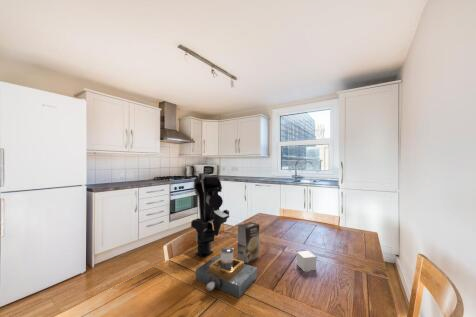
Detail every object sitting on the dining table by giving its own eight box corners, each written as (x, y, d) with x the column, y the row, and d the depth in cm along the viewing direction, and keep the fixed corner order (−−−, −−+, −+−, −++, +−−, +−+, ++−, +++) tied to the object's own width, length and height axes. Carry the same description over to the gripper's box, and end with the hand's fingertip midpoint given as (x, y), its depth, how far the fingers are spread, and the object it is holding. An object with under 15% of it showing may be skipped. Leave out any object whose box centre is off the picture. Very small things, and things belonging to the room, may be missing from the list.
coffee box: (246, 263, 91) (247, 228, 91) (237, 258, 96) (237, 225, 96) (259, 257, 97) (259, 224, 98) (249, 252, 102) (250, 221, 102)
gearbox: (217, 264, 90) (217, 250, 90) (257, 278, 80) (257, 262, 80) (188, 285, 75) (188, 268, 75) (232, 305, 64) (232, 286, 64)
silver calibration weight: (225, 263, 82) (225, 242, 83) (237, 268, 79) (237, 246, 80) (217, 269, 78) (218, 246, 78) (230, 274, 75) (230, 250, 75)
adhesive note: (316, 270, 86) (316, 256, 86) (303, 272, 84) (303, 258, 85) (308, 263, 92) (308, 250, 92) (296, 265, 90) (296, 251, 90)
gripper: (211, 210, 77) (210, 250, 77) (236, 202, 93) (236, 236, 93) (190, 206, 83) (189, 244, 82) (217, 200, 99) (217, 231, 98)
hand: (210, 238), depth 89 cm, fingers open, 9 cm apart
